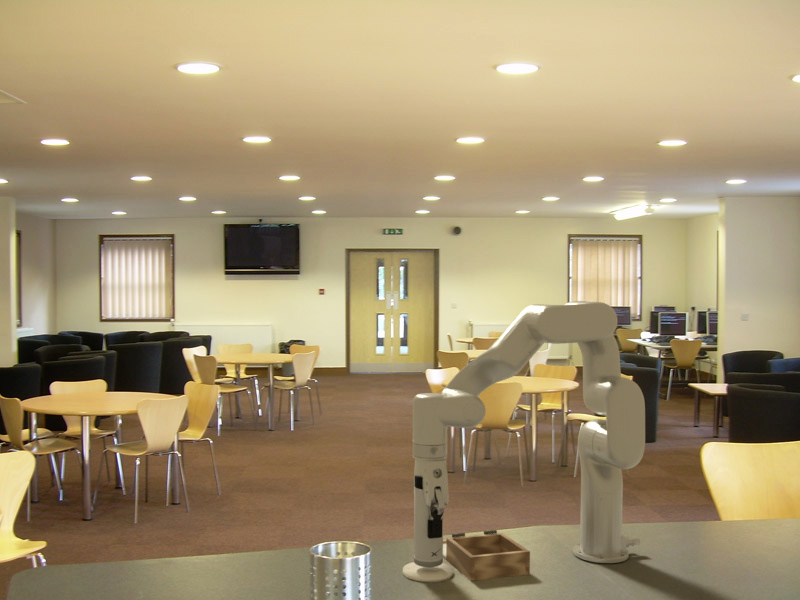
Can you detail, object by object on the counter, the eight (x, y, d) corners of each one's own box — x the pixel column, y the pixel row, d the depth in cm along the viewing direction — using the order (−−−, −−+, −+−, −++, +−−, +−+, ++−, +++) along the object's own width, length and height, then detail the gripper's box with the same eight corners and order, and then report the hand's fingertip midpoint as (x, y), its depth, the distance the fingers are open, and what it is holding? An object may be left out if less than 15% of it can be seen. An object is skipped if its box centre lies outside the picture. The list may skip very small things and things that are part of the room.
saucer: (442, 562, 186) (442, 559, 186) (460, 579, 176) (461, 575, 176) (396, 567, 183) (396, 563, 183) (412, 584, 172) (412, 580, 172)
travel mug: (442, 568, 176) (442, 475, 175) (411, 566, 177) (411, 473, 176) (446, 559, 182) (446, 468, 181) (416, 557, 183) (417, 467, 183)
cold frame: (482, 540, 203) (483, 516, 203) (529, 574, 179) (530, 547, 179) (429, 545, 199) (429, 521, 198) (470, 580, 175) (470, 553, 175)
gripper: (460, 457, 172) (460, 543, 172) (432, 442, 188) (431, 520, 189) (427, 459, 170) (426, 546, 170) (400, 444, 186) (400, 523, 186)
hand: (429, 532), depth 179 cm, fingers closed on travel mug, 6 cm apart
